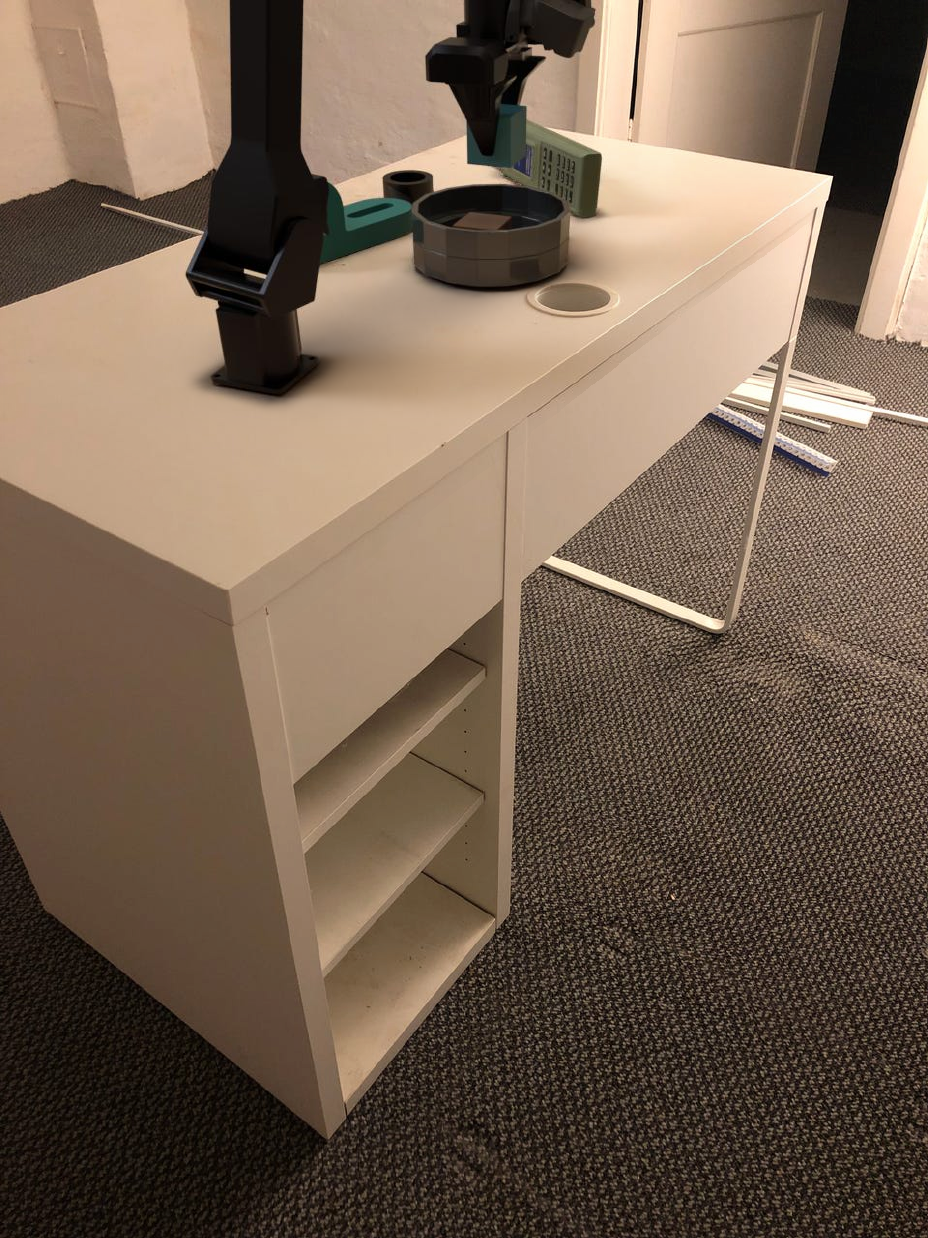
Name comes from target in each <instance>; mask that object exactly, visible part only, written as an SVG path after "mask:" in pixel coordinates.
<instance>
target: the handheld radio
mask: <svg viewBox="0 0 928 1238" xmlns="http://www.w3.org/2000/svg"><path fill="white" fill-rule="evenodd" d="M602 163H603V155H602V153H601V152H600V151H599V150H598V151H597V150H596V149H593V148H592V147H589V146H587V145H585V144H582V143H580V142H578V141H576V140H574V139H572V138H568V137H567V136H564V135H563V134H560V133H558V132H556V131H554V130H552V129H549V128H547V127H545V126H544V125H543V126H542V125H540V124H538V123H537V122H534V121H532V120H529V119H528V118H526V156H525V157H523V158H522V159H521V160H520V161H518V162H517V163H516V164H515V165H514V166H512V167H511V168H504V167H502V171H500V172H501V174H503V175H504V176H506V177H508V178H509V179H511V180H513V181H514V182H517V184H519V185H521V186H530V187H534V188H538V189H542V190H546V191H550V192H553V193H555V194H557V195H559V196H560V197H562V198H564V199H566V200H567V201H568V204H569V207H570V210H571V212H570V213H573V214H574V215H576V216H578V217H580V218H581V219H585V218H590V217H595V216H596V214H597V210H598V204H599V193H600V183H601V174H602Z"/></svg>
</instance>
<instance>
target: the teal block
mask: <svg viewBox="0 0 928 1238" xmlns="http://www.w3.org/2000/svg"><path fill="white" fill-rule="evenodd" d="M527 108H528V106H527V105H521V104H520V105H506V104H500V112H499V120H498V128H497V136H496V143H495V149H494V154H493V155H492V156H483V155H482V154H481V153H480V150H479V148H478V146H477V144H476V141H475V139H474V137H473V135H472V132H471V130H470V128H469V126H468V123H467V121H466V120H465V122H466V124H465V125H466V127H465V128H466V164H467V165H472V166H473V165H474V166H483V167H496V168H503V167H504V168H511V167H512V166H514V165H515V164H516V163H517V162H518V161H520V160H521V159H522V158H523V157H525V156H526V119H527V112H528V109H527Z"/></svg>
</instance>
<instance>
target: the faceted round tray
mask: <svg viewBox="0 0 928 1238" xmlns="http://www.w3.org/2000/svg"><path fill="white" fill-rule="evenodd" d="M469 212H474V213H483V214H492V215H501V216H510V217H512V229H511V230H470V229H461V228H453V225H454V224H455V223H457V222H458V221H459V220H460V219H462V218H463V217H464V216H465V215H467V214H468V213H469ZM571 213H572V212H571V210H570V207H569V204H568V201H567V200H566V199H564V198H562V197H560V196H559V195H557V194H555V193H553V192H550V191H546V190H542V189H538V188H534V187H530V186H524V185H522V184H510V183H509V184H508V183H473V184H465V185H458V186H450V187H445V188H443V189H439V190H435V191H434V192H432V193H429V194H425V195H424V196H423V197H421V198H420V199H418V200H417V201H415V202H414V203H413V205H412V231H411V232H412V247H413V248H412V249H413V250H412V251H413V253H412V254H413V265H414V266H415V267H416V268H417V269H419V271H420V272H421V273H423V274H424V275H426V276H428V277H431V278H434V279H437V280H439V281H443V282H445V283H449V284H454V285H458V286H464V287H473V288H474V287H475V288H506V287H507V288H508V287H514V286H520V285H525V284H530V283H534V282H539V281H541V280H544V279H546V278H549V277H551V276H553V275H556V274H558V273H560V272H561V271H562V269H563V268H564V267H565V266H566V265H567V264H568V263H569V249H570V229H571V228H570V227H571Z"/></svg>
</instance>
